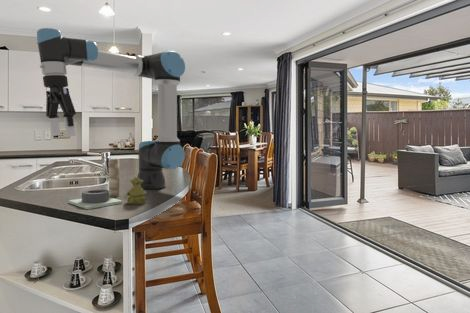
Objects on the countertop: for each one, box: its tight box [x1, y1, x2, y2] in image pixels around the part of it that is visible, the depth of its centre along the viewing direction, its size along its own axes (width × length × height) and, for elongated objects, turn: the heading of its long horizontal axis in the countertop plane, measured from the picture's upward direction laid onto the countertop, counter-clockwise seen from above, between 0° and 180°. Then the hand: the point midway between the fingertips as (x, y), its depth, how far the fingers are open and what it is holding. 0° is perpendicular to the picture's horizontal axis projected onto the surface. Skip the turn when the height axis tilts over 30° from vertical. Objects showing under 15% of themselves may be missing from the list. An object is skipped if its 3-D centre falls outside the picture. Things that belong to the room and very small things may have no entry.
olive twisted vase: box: [126, 176, 147, 205], centre depth 126 cm, size 7×7×10 cm
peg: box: [108, 158, 120, 198], centre depth 136 cm, size 4×4×16 cm
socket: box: [68, 189, 123, 210], centre depth 123 cm, size 14×14×4 cm
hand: (63, 135), depth 115 cm, fingers open, 13 cm apart
